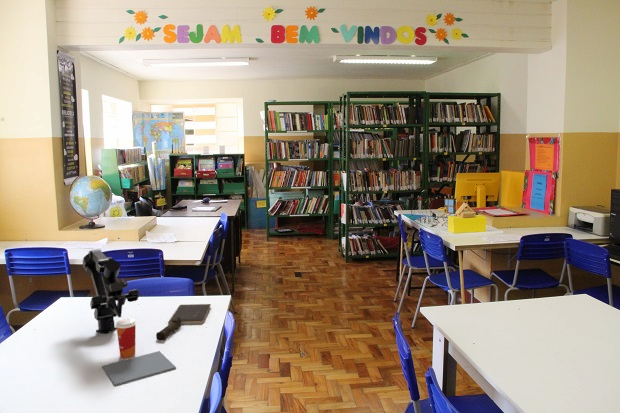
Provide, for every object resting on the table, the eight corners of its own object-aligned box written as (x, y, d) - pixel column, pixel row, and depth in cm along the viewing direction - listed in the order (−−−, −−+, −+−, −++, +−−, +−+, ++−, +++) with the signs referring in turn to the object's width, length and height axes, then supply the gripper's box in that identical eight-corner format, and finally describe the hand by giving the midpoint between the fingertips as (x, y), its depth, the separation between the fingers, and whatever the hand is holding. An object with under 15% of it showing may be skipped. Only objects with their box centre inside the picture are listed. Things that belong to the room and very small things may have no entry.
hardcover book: (210, 308, 254) (210, 304, 254) (202, 324, 231) (202, 320, 231) (179, 309, 254) (179, 304, 253) (168, 325, 231) (168, 320, 230)
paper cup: (120, 351, 201) (118, 318, 199) (140, 350, 202) (138, 317, 200) (114, 359, 194) (112, 325, 192) (135, 359, 194) (133, 324, 192)
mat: (101, 367, 187) (101, 365, 187) (159, 352, 200) (159, 350, 200) (114, 385, 173) (114, 384, 173) (175, 368, 186) (175, 367, 186)
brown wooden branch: (164, 341, 212) (163, 331, 211) (155, 340, 213) (155, 330, 212) (186, 325, 230) (185, 316, 229) (178, 324, 231) (177, 315, 230)
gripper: (89, 277, 199) (98, 311, 192) (136, 270, 210) (146, 302, 203) (86, 292, 206) (94, 325, 199) (132, 284, 217) (141, 315, 210)
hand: (120, 316), depth 202 cm, fingers closed
